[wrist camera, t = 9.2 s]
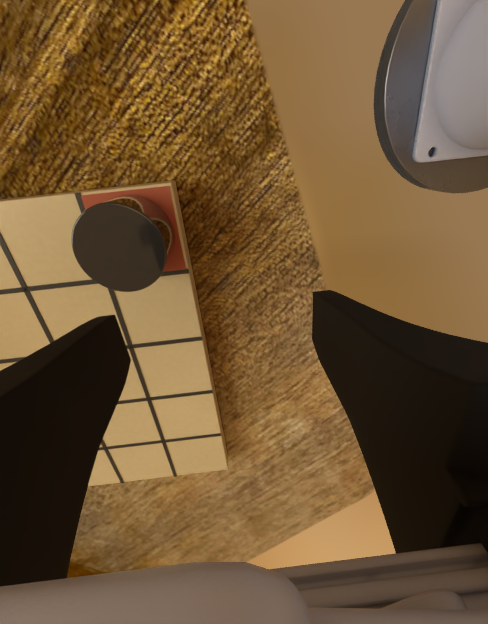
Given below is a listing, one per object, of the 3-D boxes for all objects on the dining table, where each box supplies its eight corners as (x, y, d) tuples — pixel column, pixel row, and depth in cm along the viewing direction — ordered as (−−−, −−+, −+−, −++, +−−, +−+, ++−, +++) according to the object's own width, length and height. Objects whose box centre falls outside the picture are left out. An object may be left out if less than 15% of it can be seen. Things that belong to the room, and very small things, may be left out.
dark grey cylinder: (165, 189, 16) (154, 196, 13) (182, 267, 18) (175, 287, 15) (83, 198, 15) (55, 208, 13) (109, 275, 18) (89, 297, 15)
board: (175, 180, 17) (171, 182, 15) (227, 455, 29) (228, 470, 27) (-175, 218, 17) (-212, 224, 15) (25, 479, 29) (15, 496, 27)
